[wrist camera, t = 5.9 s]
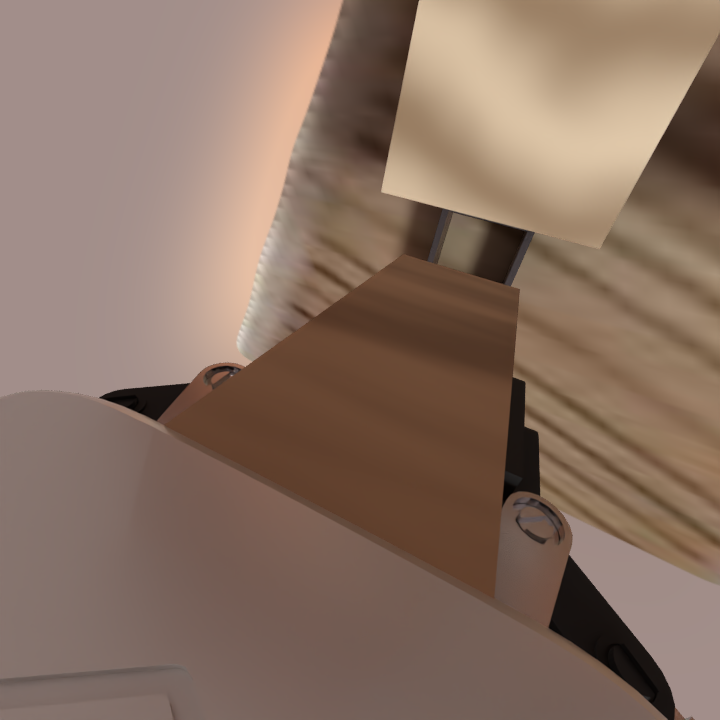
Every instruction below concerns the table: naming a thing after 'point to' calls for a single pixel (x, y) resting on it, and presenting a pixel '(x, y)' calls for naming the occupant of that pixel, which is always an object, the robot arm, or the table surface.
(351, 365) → the brown wooden block
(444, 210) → the socket
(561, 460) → the table surface
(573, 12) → the lid
